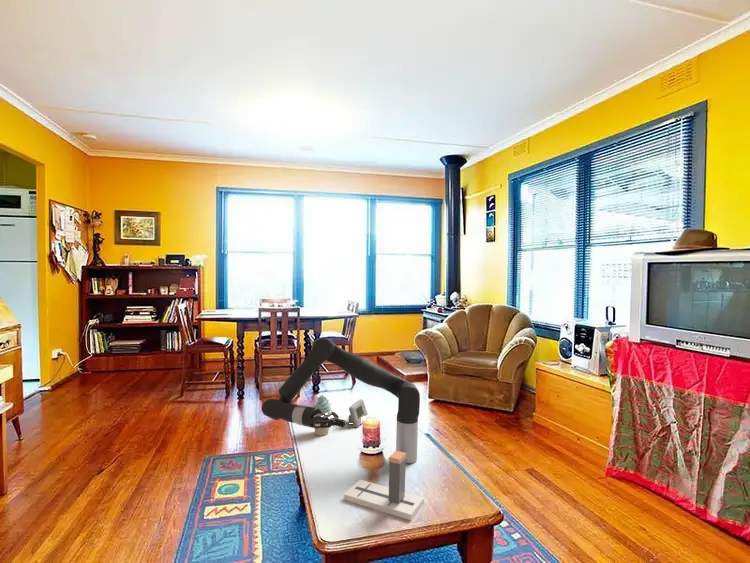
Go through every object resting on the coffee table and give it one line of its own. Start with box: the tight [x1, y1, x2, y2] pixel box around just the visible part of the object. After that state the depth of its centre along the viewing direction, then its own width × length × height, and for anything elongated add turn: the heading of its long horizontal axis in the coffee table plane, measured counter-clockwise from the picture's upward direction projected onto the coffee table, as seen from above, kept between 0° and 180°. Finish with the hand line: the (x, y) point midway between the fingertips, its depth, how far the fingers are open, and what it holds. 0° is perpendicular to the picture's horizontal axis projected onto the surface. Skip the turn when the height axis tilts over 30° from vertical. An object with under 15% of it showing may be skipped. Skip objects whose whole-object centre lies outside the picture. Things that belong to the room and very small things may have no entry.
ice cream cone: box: [313, 394, 333, 437], centre depth 213 cm, size 10×11×20 cm
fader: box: [388, 450, 406, 503], centre depth 151 cm, size 6×4×16 cm, turn 153°
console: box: [343, 479, 425, 521], centre depth 153 cm, size 12×26×2 cm, turn 63°
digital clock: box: [348, 398, 369, 428], centre depth 230 cm, size 16×9×11 cm, turn 148°
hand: (344, 423), depth 160 cm, fingers closed
